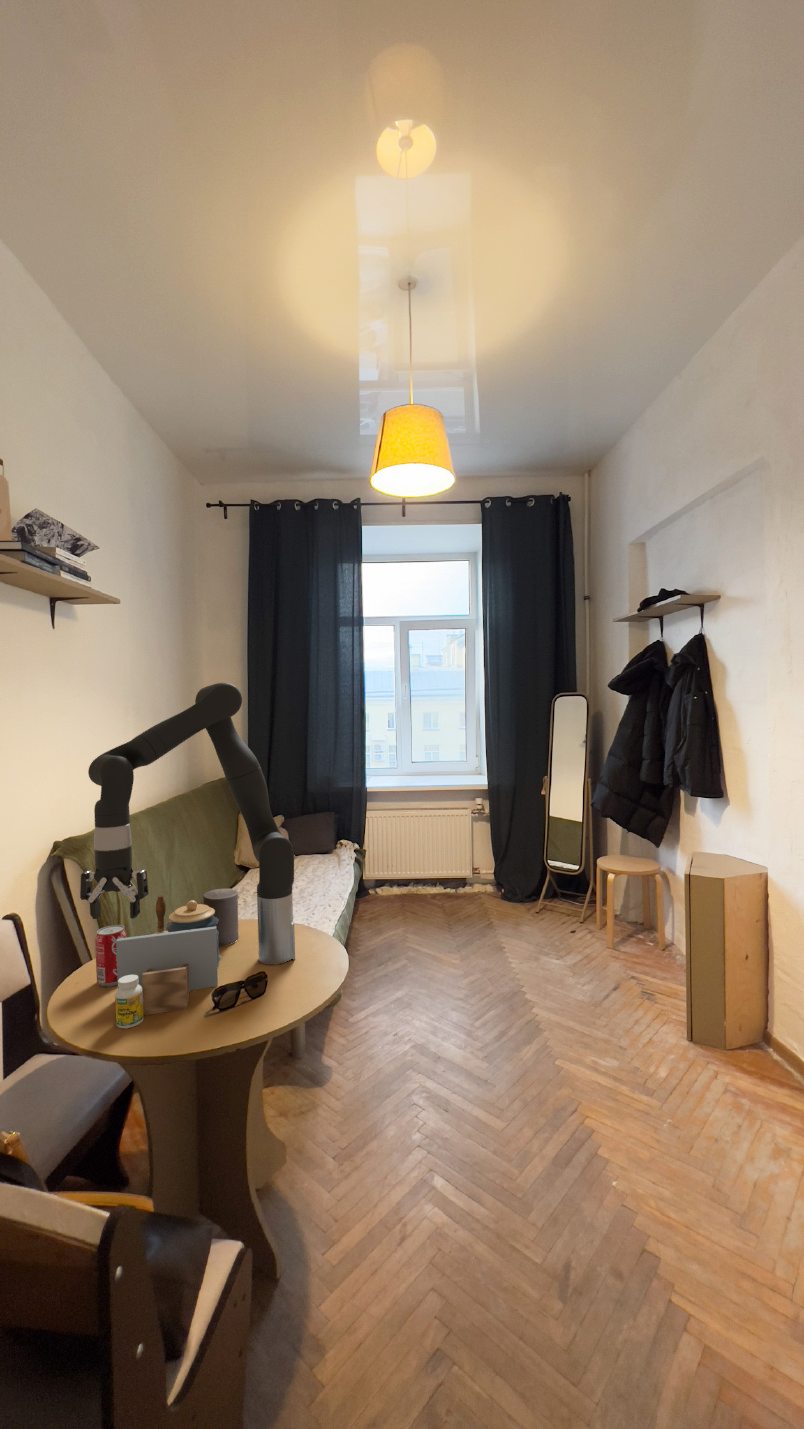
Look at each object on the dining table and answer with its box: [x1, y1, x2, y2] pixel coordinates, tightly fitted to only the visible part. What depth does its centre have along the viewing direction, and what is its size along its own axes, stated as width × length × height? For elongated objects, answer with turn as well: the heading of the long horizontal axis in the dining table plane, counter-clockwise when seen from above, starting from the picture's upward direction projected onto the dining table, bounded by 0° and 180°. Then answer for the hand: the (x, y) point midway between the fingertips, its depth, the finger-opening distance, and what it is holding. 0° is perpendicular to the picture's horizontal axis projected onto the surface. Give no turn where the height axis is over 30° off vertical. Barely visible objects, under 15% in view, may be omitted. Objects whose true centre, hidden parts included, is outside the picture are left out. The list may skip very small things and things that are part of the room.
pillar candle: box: [202, 888, 239, 948], centre depth 174 cm, size 10×10×15 cm
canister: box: [164, 899, 221, 968], centre depth 156 cm, size 13×13×18 cm
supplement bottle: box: [114, 975, 145, 1030], centre depth 130 cm, size 5×5×10 cm
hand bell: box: [154, 894, 168, 934], centre depth 166 cm, size 8×8×16 cm
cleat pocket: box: [143, 964, 190, 1016], centre depth 138 cm, size 9×9×9 cm
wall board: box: [116, 927, 219, 992], centre depth 143 cm, size 22×2×14 cm, turn 107°
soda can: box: [94, 924, 128, 987], centre depth 150 cm, size 7×7×13 cm
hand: (115, 917), depth 134 cm, fingers open, 8 cm apart
